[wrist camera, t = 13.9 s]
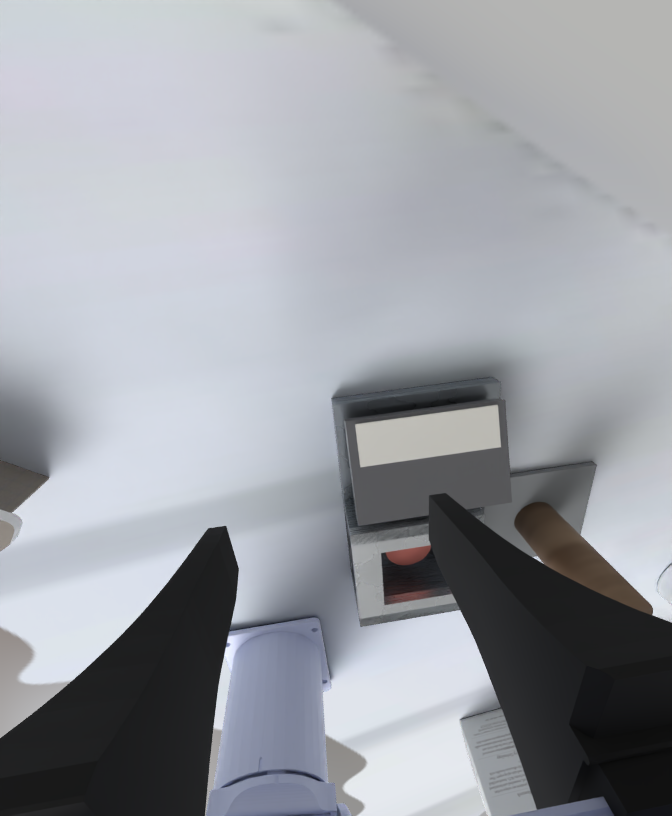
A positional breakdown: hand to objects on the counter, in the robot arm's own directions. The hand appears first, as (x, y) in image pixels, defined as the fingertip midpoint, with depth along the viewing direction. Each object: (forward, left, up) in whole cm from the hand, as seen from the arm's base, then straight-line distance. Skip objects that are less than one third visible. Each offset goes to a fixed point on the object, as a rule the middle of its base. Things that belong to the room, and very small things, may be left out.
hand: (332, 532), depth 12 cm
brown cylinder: (-11, -15, -10) cm, 21 cm away
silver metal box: (-7, -6, -10) cm, 13 cm away
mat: (-11, -15, -10) cm, 21 cm away
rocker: (-3, -6, -7) cm, 10 cm away
